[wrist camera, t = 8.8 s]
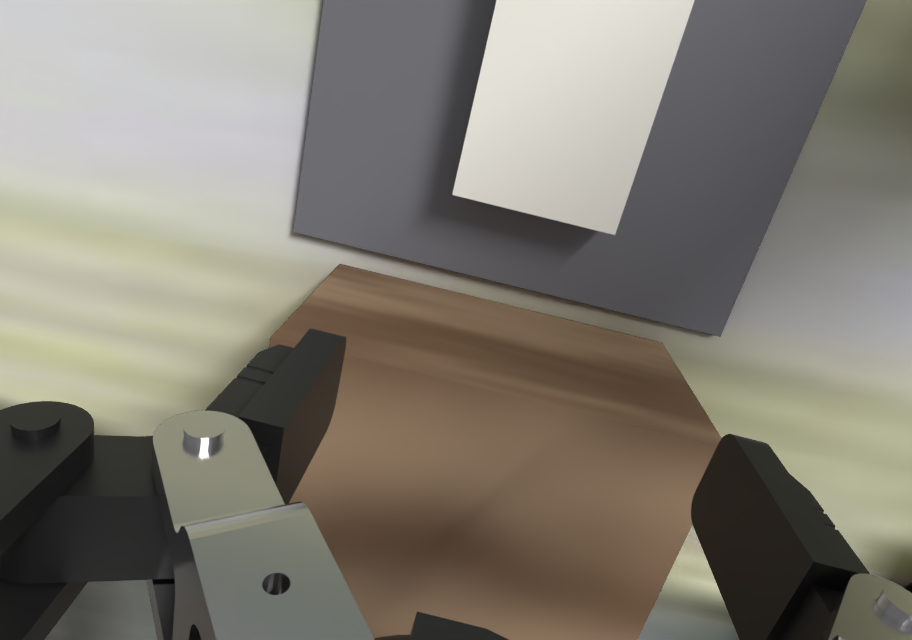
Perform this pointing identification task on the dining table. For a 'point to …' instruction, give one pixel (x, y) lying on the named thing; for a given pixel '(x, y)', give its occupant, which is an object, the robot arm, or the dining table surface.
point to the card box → (568, 105)
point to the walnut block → (498, 462)
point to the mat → (545, 240)
